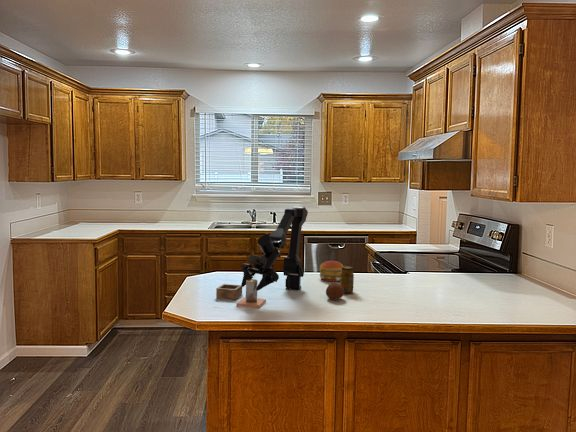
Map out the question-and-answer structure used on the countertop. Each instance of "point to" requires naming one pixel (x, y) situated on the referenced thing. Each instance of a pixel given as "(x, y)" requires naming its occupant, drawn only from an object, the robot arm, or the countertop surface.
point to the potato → (334, 291)
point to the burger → (331, 271)
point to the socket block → (229, 291)
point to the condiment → (347, 280)
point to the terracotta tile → (255, 305)
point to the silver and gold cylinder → (251, 291)
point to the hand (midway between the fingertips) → (249, 288)
